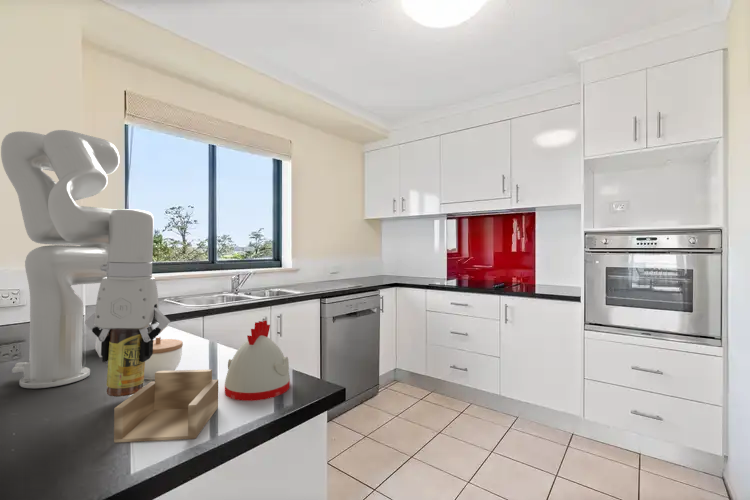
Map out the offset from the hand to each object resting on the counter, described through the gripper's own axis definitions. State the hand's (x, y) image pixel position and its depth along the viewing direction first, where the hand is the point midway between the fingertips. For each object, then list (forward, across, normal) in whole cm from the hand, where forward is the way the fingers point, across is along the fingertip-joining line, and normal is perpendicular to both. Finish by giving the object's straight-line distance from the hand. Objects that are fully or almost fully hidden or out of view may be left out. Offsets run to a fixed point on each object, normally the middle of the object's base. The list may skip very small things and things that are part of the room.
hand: (127, 359), depth 75 cm
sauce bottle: (+7, 0, 0) cm, 7 cm away
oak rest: (+8, +13, -11) cm, 19 cm away
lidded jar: (+9, -1, +16) cm, 19 cm away
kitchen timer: (+8, +25, +5) cm, 27 cm away
